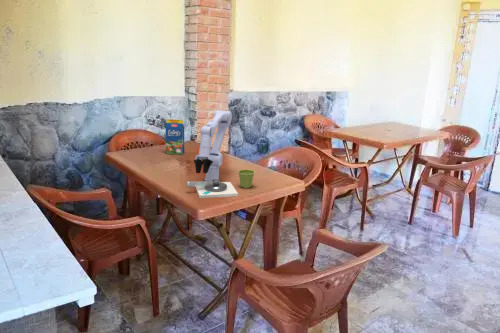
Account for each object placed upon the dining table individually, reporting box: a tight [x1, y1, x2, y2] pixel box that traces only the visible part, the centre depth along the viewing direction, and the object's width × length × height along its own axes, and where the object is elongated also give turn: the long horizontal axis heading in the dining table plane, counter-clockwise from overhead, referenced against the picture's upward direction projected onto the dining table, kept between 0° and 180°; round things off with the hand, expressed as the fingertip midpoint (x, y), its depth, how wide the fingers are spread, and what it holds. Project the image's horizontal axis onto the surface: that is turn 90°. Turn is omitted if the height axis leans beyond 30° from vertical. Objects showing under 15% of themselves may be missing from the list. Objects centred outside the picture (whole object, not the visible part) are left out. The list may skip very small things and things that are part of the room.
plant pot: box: [237, 169, 256, 189], centre depth 228 cm, size 9×9×9 cm
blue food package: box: [165, 118, 185, 156], centre depth 294 cm, size 6×12×25 cm, turn 84°
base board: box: [195, 181, 239, 199], centre depth 220 cm, size 20×20×2 cm
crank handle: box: [186, 179, 227, 192], centre depth 218 cm, size 22×12×4 cm, turn 104°
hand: (201, 173), depth 218 cm, fingers open, 7 cm apart
